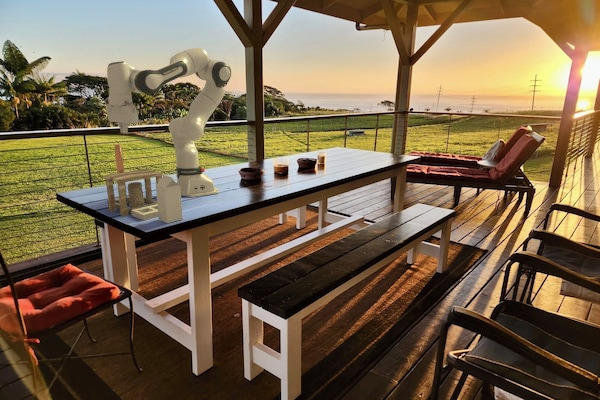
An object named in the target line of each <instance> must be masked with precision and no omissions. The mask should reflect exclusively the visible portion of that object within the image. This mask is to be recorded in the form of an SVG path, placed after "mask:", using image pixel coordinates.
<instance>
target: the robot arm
mask: <svg viewBox="0 0 600 400" xmlns="http://www.w3.org/2000/svg"><path fill="white" fill-rule="evenodd" d="M106 68H107V70H106V76H107V77H106V79H107V85H108V87H109V88H108V89H109V91H108V97H106V99H104V104H105V105H106V106H105V109H106V110H105V111H106V116H107V117H106V118H107V119H108V121H109V122H111V123H112V122H113V123H117V124H118V125H117V126H118V127H119V129H120V130H119V131H120V133H121V134H128V133H129V132H128V129H129V126H130V125H137V124H139V116H138V115H139V114H138V109H137V107H136V106H135V105H136V104H134V102H133V98H132V95H133V94H132V92H133V93H136V94H144V95H155V94H156V93H158V92H159V91H160V90H161V88H163V86H164V85H167V84H168V83H170V82H172V81H175V80H176V79H179V78H185V77H188V76H192V75H194V74H195V76H196V77H198V78H199V79H201V80H202V81H205V84H204V87H203V88H202V89H201V90H200V92H199V93H198V94H197V95H196V97H195V98H194V100H193V101H192V102H191V103H190V105H189V110H188V112H187V114H186V116H184V117H176V118H173V119H172V120H170V122H169V123H168V124H169V125H168V130H169V133H170V136H171V139H172V142H173V147H174V149H175V150H174V151H175V159H176V160H175V161H176V168H175V176H176V179H177V180H176V183H178V184H179V185H180V188H181V197H182V196H183V197H188V198H196V197H202V196H203V197H204V196H209V195H210V196H211V195H216V194H219V193H220V190H219V188H217V186H215V182H214V180H213V179H212V178H211V177H209V176H208V175H207V174H205V170H206V169H205V168H204V167H202V166H200V164H199V163H200V162H199V151H198V148H197V147H196V144H195V142H197V141H199V140H201V139H202V138H203V136H204V132H205V131H204V129H205V127H206V124H207V122H208V120H209V119H210V117H211V116H212V115H213V113H214V112H215V110H216V109H217V107H218V106H219V105H220V103H221V102H222V99H223V98H224V96H225V94H226V89H225V87H226V86H227V85H228V83H229V82H230V79H231V77H232V69H231V67H230V65H228V64H227V63H226V62H224V61H221V60H217V59H212V58H211V59H210V57H209V55H208V53H207V51H206V50H205V49H203V48H201V47H194V48H189V49H185V50H183V51H180V52H178V53H175V54H173V55H172V56H171V57H170V59H169V65H167V66H164V67H161V68H159V69H156V70H154V69H144V70H140V69H137V68H135V67H133V66H132V65H130V64H129V63H128V62H127V61H122V60H121V61H116V62H115V61H113V62H111V63H109V64H108V65H107V67H106Z"/></svg>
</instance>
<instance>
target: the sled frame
mask: <svg viewBox="0 0 600 400" xmlns="http://www.w3.org/2000/svg"><path fill="white" fill-rule="evenodd" d="M113 145H114V146H113V147H114V154H115V155H114V156H115V165H116V166H115V167H116V174H117V173H123V172H125V166H124V165H125V164H124V158H123V157H124V156H123V149H122V148H123V147H122V144H113ZM124 185H125V194H126V203H127V204H130V203H129V195H128V194H127V186H126V185H127V184H126V182H124ZM106 202H107V206H108V207H109V202H108V199H107V200H106ZM144 203H145V205H143V206H139V207H134V208H131V207H130V206H129V207H128V206H127V213H128V214H129V215H131V216H132V213H131V210H134V209H138V208H142V207H146V206H151V205H155V204H157V200H155V199H152V200H151V199H148V198H146V196H144ZM115 205H116V210H117V211H120V202H119V197H118V198H115Z"/></svg>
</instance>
